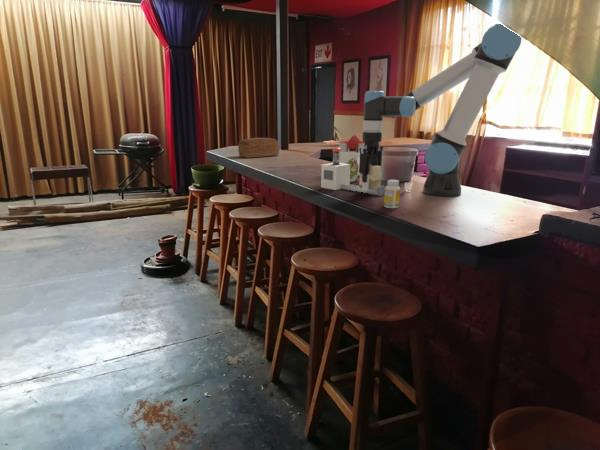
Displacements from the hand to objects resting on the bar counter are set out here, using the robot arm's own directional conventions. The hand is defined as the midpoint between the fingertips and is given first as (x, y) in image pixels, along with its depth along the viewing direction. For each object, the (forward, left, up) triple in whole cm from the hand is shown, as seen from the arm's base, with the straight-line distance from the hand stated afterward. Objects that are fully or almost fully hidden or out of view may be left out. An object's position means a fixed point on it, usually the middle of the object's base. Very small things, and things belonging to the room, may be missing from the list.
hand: (369, 188), depth 178 cm
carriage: (0, 0, +1) cm, 1 cm away
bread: (+121, -47, -2) cm, 130 cm away
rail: (+4, 0, -2) cm, 4 cm away
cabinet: (+18, 0, -2) cm, 18 cm away
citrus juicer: (+32, -32, -2) cm, 45 cm away
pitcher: (+23, -17, -2) cm, 29 cm away
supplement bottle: (-19, +14, -2) cm, 24 cm away
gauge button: (+18, 0, +8) cm, 20 cm away
